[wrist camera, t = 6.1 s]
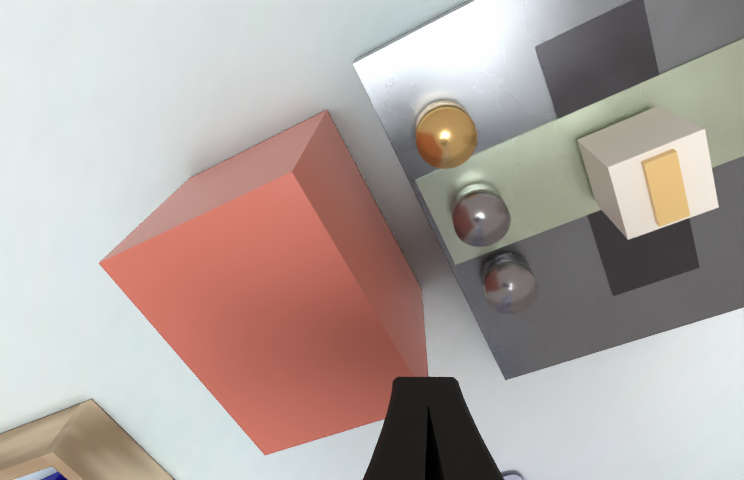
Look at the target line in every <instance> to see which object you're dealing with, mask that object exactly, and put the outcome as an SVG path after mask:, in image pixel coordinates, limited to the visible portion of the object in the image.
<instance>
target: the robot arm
mask: <svg viewBox="0 0 744 480" xmlns="http://www.w3.org/2000/svg"><path fill="white" fill-rule="evenodd" d="M363 480H523V479H522V478H521V477H520V476H518V475H508V476H504V477H503V476H502V474H501V472H500V471H499V469H498V467H497V465H496V463H495V461H494V460H493V458H492V456H491V454H490V452H489V450H488V449H487V447H486V445H485V443H484V441H483V439H482V437H481V435H480V433H479V431H478V429H477V427H476V425H475V423H474V420H473V418H472V416H471V414H470V412H469V409H468V407H467V405H466V402H465V400H464V397H463V395H462V392H461V389H460V386H459V383H458V381H457V380H456V379H455V378H454V377H397V378H395V379H394V380H393V383H392V392H391V397H390V402H389V406H388V410H387V414H386V417H385V421H384V424H383V427H382V431H381V433H380V436H379V439H378V442H377V445H376V447H375V450H374V453H373V456H372V459H371V461H370V464H369V466H368V469H367V471H366V473H365V476H364V478H363Z"/></svg>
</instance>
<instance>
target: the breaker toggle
mask: <svg viewBox="0 0 744 480" xmlns="http://www.w3.org/2000/svg"><path fill="white" fill-rule="evenodd" d="M577 142H578V145H579V148H580V152H581V155H582V158H583V162H584V165H585V168H586V172H587V175H588V178H589V181H590V185H591V188H592V191H593V195H594V198H595V201H596V204H597V205H598V206H599V208H600V209H601V210H602V211H603V212H604V213H605V214H606V215H607V217H608V218H609V219H610V220H611V221H612V222H613V223H614V224H615V226H616V227H617V228H618V229H619V230H620V231H621V232H622V233H623V235H624V236H625V237H626V238H627V239H628V240H629V239H632V238H635V237H638V236H640V235H643V234H646V233H649V232H652V231H654V230H657V229H660V228H663V227H665V226H668V225H671V224H674V223H677V222H679V221H682V220H685V219H688V218H691V217H693V216H696V215H699V214H702V213H705V212H707V211H710V210H713V209H716V208H719V206H718V200H717V194H716V189H715V183H714V177H713V172H712V166H711V160H710V155H709V149H708V144H707V138H706V132H705V129H704V128H702V127H700V126H698V125H696V124H694V123H692V122H690V121H688V120H686V119H684V118H682V117H679V116H677V115H675V114H673V113H671V112H669V111H667V110H665V109H663V108H661V107H659V106H657V107H654V108H652V109H649V110H647V111H645V112H642V113H640V114H638V115H635V116H633V117H630V118H628V119H626V120H623V121H621V122H618V123H616V124H614V125H611V126H609V127H607V128H604V129H602V130H599V131H597V132H595V133H592V134H590V135H587V136H585V137H583V138H580V139H578V140H577Z"/></svg>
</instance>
